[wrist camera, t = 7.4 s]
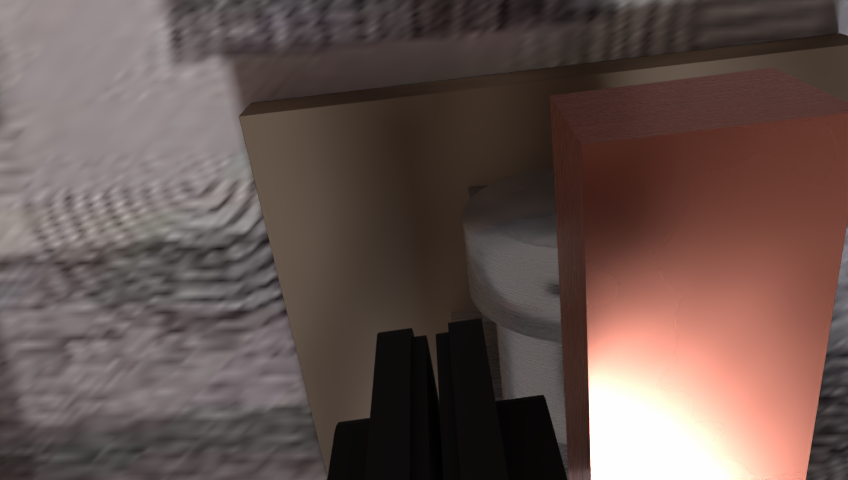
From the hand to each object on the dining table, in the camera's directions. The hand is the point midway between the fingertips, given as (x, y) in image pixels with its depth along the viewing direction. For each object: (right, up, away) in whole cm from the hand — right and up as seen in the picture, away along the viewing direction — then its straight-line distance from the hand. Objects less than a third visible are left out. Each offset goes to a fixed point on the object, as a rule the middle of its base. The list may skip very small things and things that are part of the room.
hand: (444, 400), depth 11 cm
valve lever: (+4, -2, +2) cm, 4 cm away
